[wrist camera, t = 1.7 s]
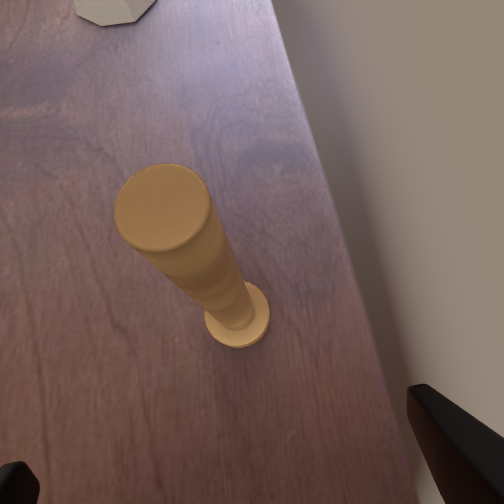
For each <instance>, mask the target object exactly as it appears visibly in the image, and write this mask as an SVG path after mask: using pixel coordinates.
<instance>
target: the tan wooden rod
mask: <svg viewBox="0 0 504 504" xmlns="http://www.w3.org/2000/svg"><path fill="white" fill-rule="evenodd" d="M114 219H115V224H116V228H117V230H118V232H119V234H120V235H121V237H122V238H123V239H124V240H125V241H126V242H127V243H128V244H129V245H130V246H132V247H133V248H134V249H135V250H136V251H137V252H139V253H140V254H141V255H142V256H143V257H144V258H146V259H147V260H148V261H149V262H150V263H151V264H153V265H154V266H155V267H156V268H157V269H158V270H159V271H161V272H162V273H163V274H164V275H165V276H166V277H168V278H169V279H170V280H171V281H172V282H173V283H175V284H176V285H177V286H178V287H179V288H180V289H182V290H183V291H184V292H185V293H186V294H187V295H189V296H190V297H191V298H192V299H193V300H194V301H195V302H197V303H198V304H199V305H200V306H201V307H202V308H204V309H205V312H204V317H205V323H206V326H207V328H208V330H209V332H210V333H211V335H212V336H213V337H214V338H215V339H216V340H218V341H219V342H221V343H223V344H225V345H227V346H229V347H232V348H245V347H249V346H251V345H253V344H255V343H257V342H258V341H259V340H260V339H261V338H262V337H263V336H264V335H265V333H266V331H267V329H268V327H269V323H270V310H269V305H268V301H267V299H266V297H265V295H264V294H263V293H262V291H261V290H260V289H259V288H257V287H256V286H255V285H253V284H251V283H248V282H245V281H244V280H243V277H242V275H241V272H240V270H239V267H238V264H237V262H236V259H235V257H234V254H233V252H232V249H231V246H230V244H229V241H228V239H227V236H226V234H225V231H224V229H223V226H222V223H221V221H220V218H219V216H218V213H217V211H216V208H215V206H214V203H213V200H212V198H211V195H210V193H209V190H208V188H207V186H206V184H205V182H204V181H203V179H202V178H201V177H200V176H199V175H198V174H197V173H195V172H194V171H192V170H191V169H189V168H187V167H184V166H181V165H177V164H170V163H166V164H157V165H153V166H150V167H147V168H145V169H143V170H141V171H139V172H137V173H136V174H134V175H133V176H132V177H131V178H130V179H129V180H128V181H127V182H126V183H125V184H124V185H123V187H122V188H121V190H120V192H119V194H118V196H117V198H116V201H115V206H114Z"/></svg>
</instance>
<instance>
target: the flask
mask: <svg viewBox="0 0 504 504" xmlns="http://www.w3.org/2000/svg"><path fill="white" fill-rule="evenodd" d="M154 1H155V0H74V5H75V10H76V15H78V16H81V17H83V18H85V19H87V20H89V21H92V22H94V23H96V24H98V25H100V26H105V25H113V24H121V23H129V22H135V21H136V20H137V19H138V18H139V17H140V16H141V15H142V14H143V13H144V12H145V11H146V10H147V9H148V8H149V7H150V6H151V4H152V3H153V2H154Z"/></svg>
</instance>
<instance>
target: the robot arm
mask: <svg viewBox="0 0 504 504" xmlns="http://www.w3.org/2000/svg"><path fill="white" fill-rule="evenodd" d="M407 416H408V419H409V422H410V424H411V427H412V429H413V432H414V434H415V436H416V439H417V441H418V443H419V446H420V448H421V450H422V453H423V455H424V457H425V460H426V462H427V464H428V467H429V469H430V471H431V474H432V476H433V478H434V481H435V483H436V485H437V487H438V490H439V492H440V494H441V496H442V497H443V500H444V502H445V504H504V438H503V437H502V436H500V435H499V434H497V433H496V432H495V431H493V430H492V429H490V428H489V427H487V426H486V425H485V424H483V423H482V422H480V421H479V420H477V419H476V418H475V417H473V416H472V415H470V414H469V413H468V412H466V411H465V410H463V409H462V408H460V407H459V406H458V405H456V404H455V403H453V402H452V401H450V400H449V399H447V398H446V397H445V396H443V395H442V394H440V393H439V392H437V391H436V390H435V389H433V388H432V387H430V386H429V385H427V384H418V385H413V386H409V387H408V389H407ZM39 492H40V484H39V481H38V479H37V478H36V476H35V475H34V474H33V472H32V471H31V470H30V468H29V467H28V465H27V464H26V463H25V462H23V461H18V462H12V463H7V464H5V465H3V466H1V467H0V504H37V501H38V497H39Z"/></svg>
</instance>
